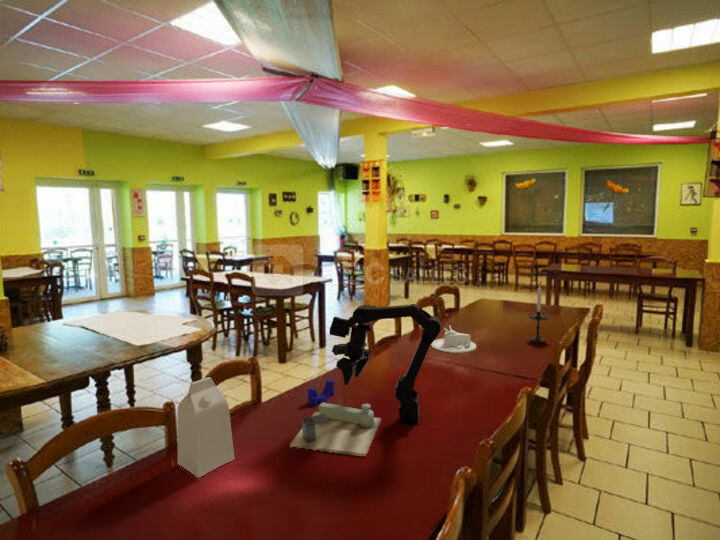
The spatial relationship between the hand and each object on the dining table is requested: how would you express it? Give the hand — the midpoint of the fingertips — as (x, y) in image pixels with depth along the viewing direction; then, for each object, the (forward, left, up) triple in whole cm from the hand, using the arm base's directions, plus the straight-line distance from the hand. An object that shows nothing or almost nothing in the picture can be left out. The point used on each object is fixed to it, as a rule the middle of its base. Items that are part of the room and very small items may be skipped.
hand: (351, 380), depth 159 cm
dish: (-33, -94, -14) cm, 101 cm away
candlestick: (-80, -115, -14) cm, 141 cm away
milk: (+35, +40, -14) cm, 55 cm away
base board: (+1, +14, -13) cm, 19 cm away
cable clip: (+15, -11, -14) cm, 24 cm away
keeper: (+7, +20, -12) cm, 25 cm away
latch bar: (0, +7, -12) cm, 14 cm away
